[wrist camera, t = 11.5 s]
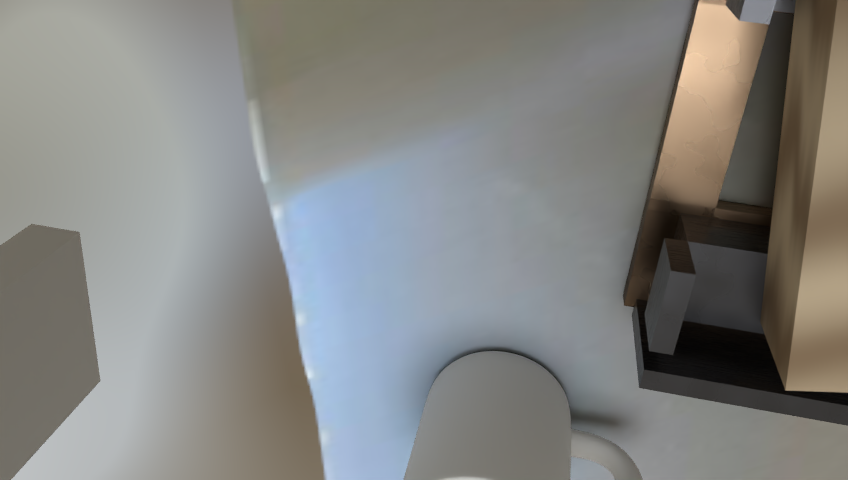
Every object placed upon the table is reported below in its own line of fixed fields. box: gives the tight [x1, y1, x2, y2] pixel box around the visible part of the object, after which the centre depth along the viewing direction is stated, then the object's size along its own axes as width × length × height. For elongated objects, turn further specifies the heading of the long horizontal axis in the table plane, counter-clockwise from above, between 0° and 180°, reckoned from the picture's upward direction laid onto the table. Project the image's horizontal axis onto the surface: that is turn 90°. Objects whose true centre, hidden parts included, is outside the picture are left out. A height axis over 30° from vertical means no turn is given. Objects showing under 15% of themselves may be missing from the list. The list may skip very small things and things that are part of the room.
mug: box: [404, 351, 642, 480], centre depth 40 cm, size 12×8×10 cm
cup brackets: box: [623, 0, 848, 425], centre depth 31 cm, size 22×13×7 cm, turn 175°
